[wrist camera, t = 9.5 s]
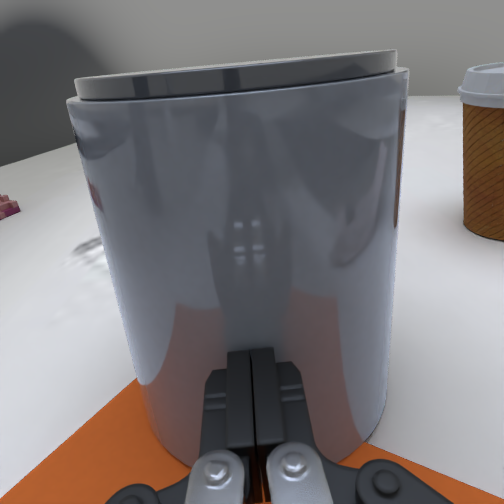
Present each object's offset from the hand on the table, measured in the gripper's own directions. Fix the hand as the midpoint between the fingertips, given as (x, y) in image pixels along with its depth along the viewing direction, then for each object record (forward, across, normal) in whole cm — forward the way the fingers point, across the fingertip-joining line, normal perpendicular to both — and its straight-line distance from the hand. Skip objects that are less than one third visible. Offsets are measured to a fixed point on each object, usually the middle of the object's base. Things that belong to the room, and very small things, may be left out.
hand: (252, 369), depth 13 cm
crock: (+6, 0, +6) cm, 8 cm away
